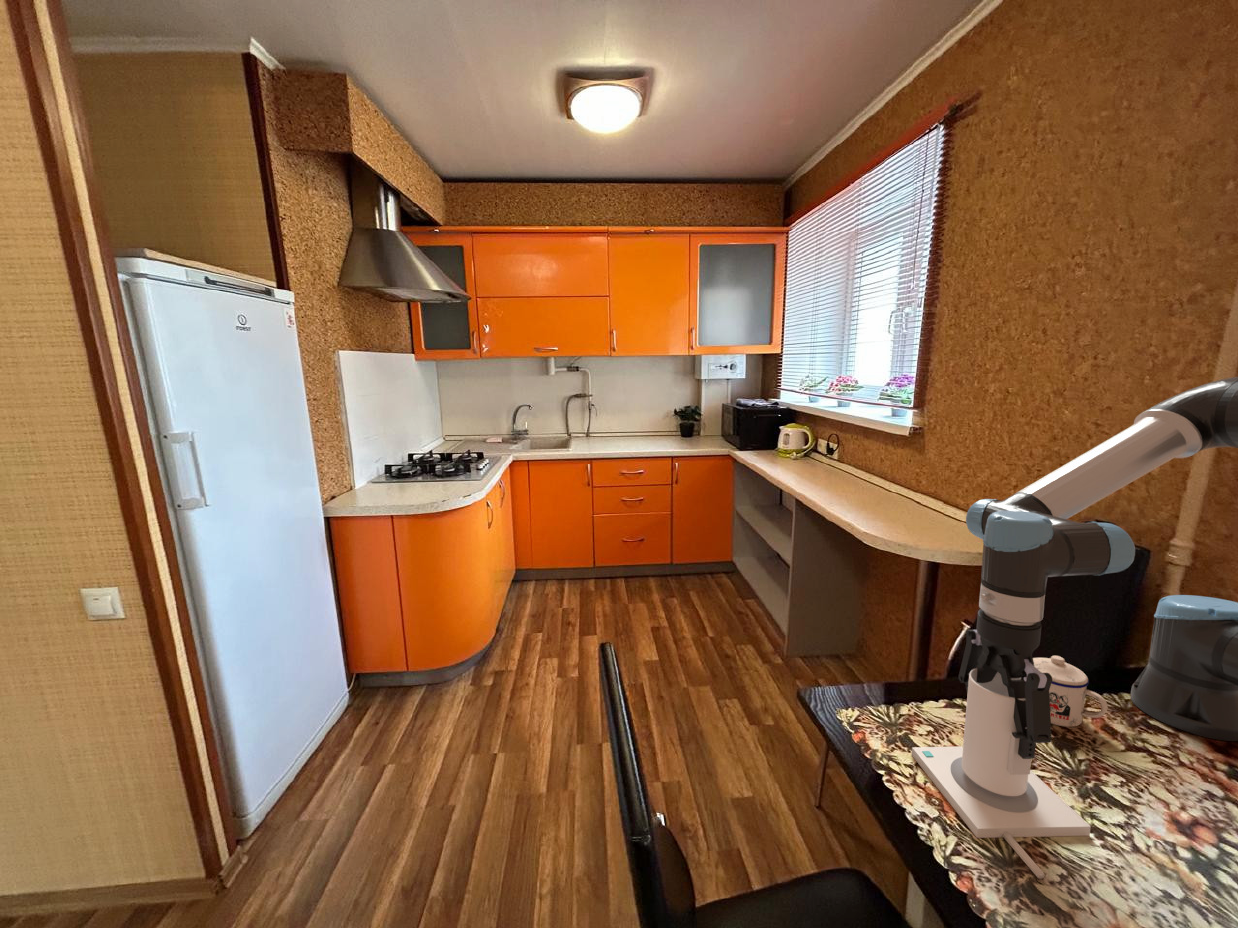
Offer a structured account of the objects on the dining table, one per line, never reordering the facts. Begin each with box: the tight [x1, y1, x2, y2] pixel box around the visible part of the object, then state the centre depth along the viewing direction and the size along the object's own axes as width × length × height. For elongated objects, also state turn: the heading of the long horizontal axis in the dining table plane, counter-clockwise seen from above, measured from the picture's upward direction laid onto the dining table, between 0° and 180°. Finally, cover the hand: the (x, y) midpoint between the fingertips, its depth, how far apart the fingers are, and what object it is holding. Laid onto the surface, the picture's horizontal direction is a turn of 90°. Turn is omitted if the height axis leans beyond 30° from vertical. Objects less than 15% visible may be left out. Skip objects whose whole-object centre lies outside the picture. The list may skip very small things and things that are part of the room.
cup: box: [962, 668, 1028, 796], centre depth 76 cm, size 8×8×16 cm
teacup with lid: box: [1033, 655, 1109, 728], centre depth 94 cm, size 12×9×12 cm
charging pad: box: [911, 745, 1091, 880], centre depth 75 cm, size 16×22×2 cm
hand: (995, 750), depth 77 cm, fingers closed on cup, 8 cm apart
